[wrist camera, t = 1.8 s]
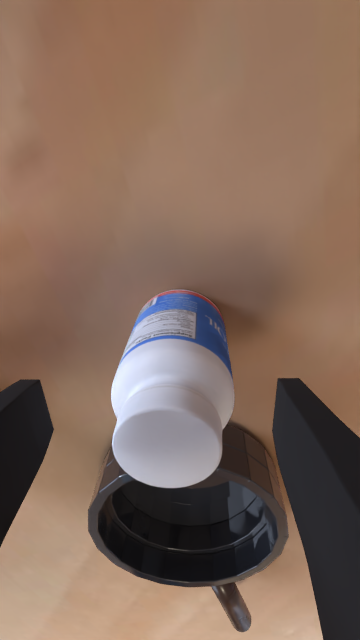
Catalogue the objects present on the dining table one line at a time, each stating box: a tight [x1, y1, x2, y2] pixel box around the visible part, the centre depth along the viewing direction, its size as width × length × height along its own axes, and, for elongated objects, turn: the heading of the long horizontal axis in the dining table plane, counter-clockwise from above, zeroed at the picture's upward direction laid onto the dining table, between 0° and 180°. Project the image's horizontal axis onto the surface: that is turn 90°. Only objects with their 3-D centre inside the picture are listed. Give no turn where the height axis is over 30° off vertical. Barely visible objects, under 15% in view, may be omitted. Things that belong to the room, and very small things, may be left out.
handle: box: [211, 582, 251, 632], centre depth 28 cm, size 10×2×2 cm, turn 19°
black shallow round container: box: [88, 424, 288, 587], centre depth 25 cm, size 13×13×4 cm
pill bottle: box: [111, 289, 235, 488], centre depth 16 cm, size 6×5×10 cm
